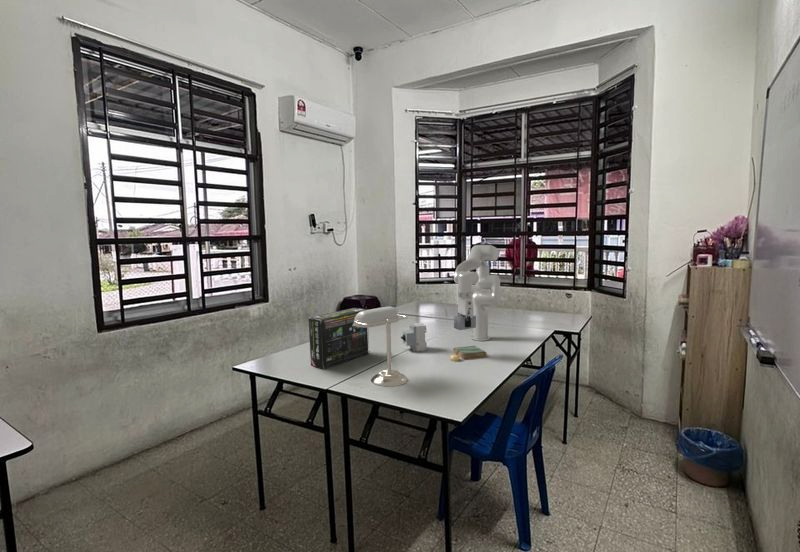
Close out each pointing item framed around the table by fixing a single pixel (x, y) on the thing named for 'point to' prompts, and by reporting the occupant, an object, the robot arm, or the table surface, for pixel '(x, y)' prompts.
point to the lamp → (387, 317)
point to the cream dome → (454, 357)
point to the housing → (463, 322)
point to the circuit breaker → (415, 337)
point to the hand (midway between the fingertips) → (465, 325)
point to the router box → (336, 338)
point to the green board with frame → (469, 352)
